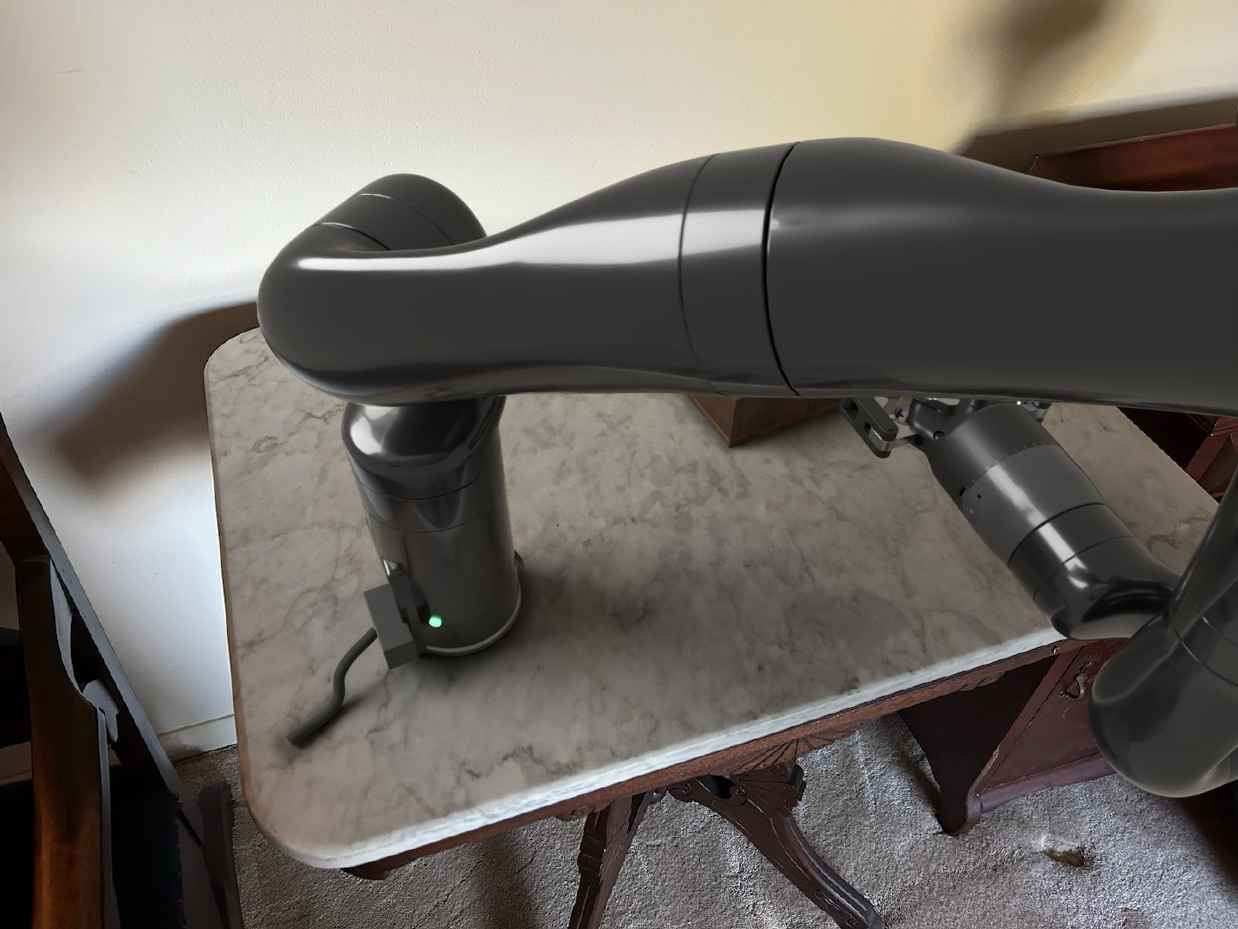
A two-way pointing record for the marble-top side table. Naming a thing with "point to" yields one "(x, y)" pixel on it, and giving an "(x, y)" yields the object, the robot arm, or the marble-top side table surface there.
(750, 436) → the wooden compartment box
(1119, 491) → the marble-top side table surface
